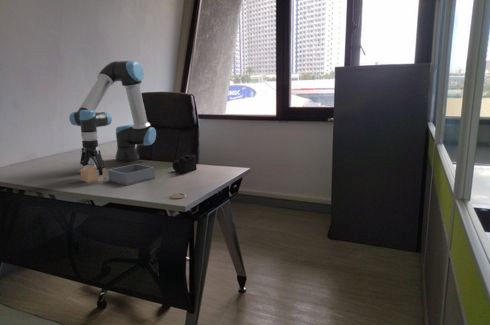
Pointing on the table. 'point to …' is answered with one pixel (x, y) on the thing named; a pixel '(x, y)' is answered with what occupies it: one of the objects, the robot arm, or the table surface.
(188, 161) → the camera
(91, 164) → the syrup box
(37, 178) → the table surface
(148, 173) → the large crate
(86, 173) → the small crate
